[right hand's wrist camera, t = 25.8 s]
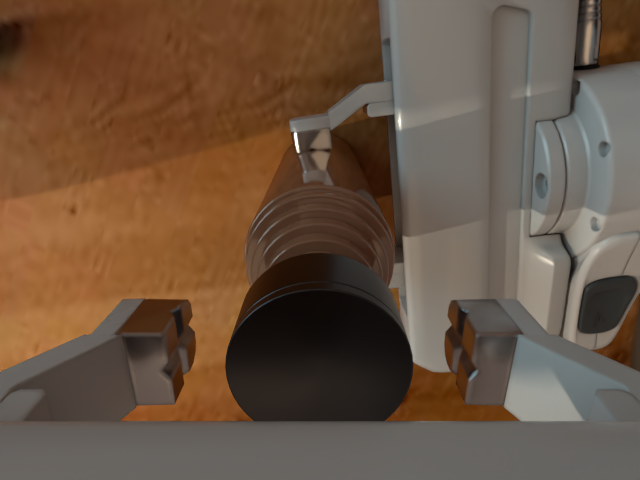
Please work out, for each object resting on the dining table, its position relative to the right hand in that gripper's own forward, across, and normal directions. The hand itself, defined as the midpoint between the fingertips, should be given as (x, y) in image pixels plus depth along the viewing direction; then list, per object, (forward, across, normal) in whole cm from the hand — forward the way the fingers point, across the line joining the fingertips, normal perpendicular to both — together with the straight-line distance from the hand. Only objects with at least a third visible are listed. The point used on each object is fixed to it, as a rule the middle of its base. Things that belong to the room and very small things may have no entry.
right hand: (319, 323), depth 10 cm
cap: (-2, 0, 0) cm, 2 cm away
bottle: (+17, 0, 0) cm, 17 cm away
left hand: (+11, -1, 0) cm, 11 cm away
